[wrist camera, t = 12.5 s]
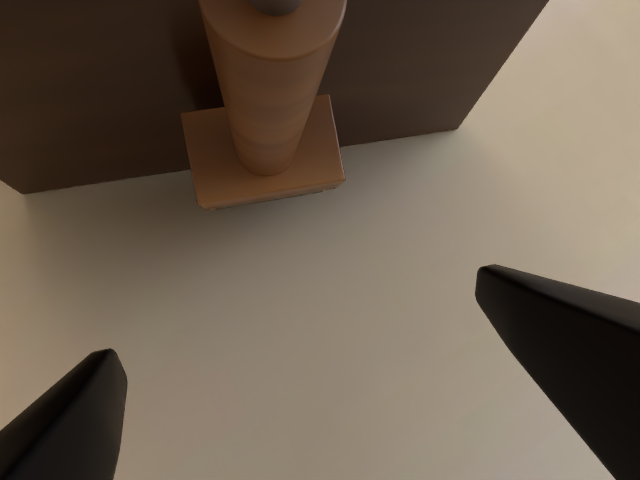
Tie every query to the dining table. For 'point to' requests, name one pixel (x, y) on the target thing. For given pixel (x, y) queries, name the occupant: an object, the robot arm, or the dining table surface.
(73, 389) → the robot arm
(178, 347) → the dining table surface
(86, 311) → the dining table surface
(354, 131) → the wall shelf
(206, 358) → the dining table surface
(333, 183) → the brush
